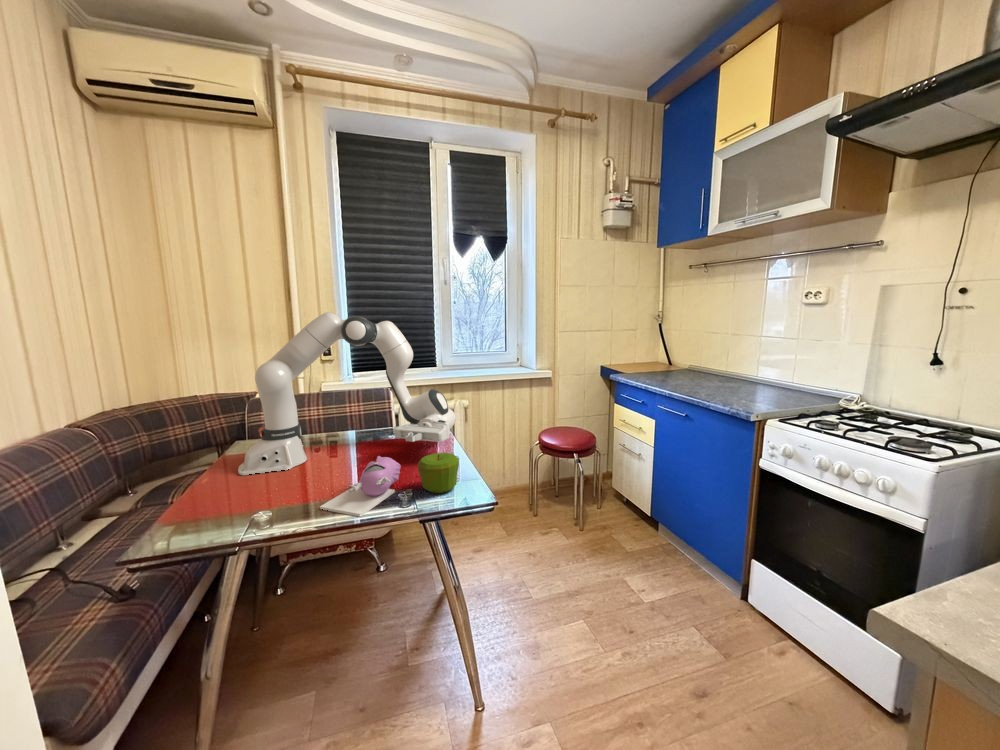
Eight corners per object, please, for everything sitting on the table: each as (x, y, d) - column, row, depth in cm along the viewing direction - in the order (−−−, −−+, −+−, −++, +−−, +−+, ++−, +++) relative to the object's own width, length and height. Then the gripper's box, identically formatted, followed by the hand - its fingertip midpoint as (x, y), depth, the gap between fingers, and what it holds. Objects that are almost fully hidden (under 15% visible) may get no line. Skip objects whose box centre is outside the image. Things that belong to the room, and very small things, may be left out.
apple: (452, 477, 137) (450, 445, 135) (466, 491, 126) (464, 456, 125) (415, 486, 132) (412, 452, 130) (426, 501, 121) (424, 464, 119)
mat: (358, 486, 132) (357, 484, 132) (394, 492, 127) (394, 489, 127) (320, 509, 118) (319, 506, 118) (360, 516, 113) (359, 513, 113)
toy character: (401, 450, 135) (384, 466, 115) (405, 481, 136) (389, 502, 116) (364, 455, 135) (341, 471, 115) (368, 486, 136) (346, 507, 116)
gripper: (405, 418, 162) (383, 428, 149) (452, 422, 154) (433, 432, 142) (407, 434, 163) (385, 445, 150) (453, 438, 155) (434, 450, 143)
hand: (409, 439), depth 146 cm, fingers closed
